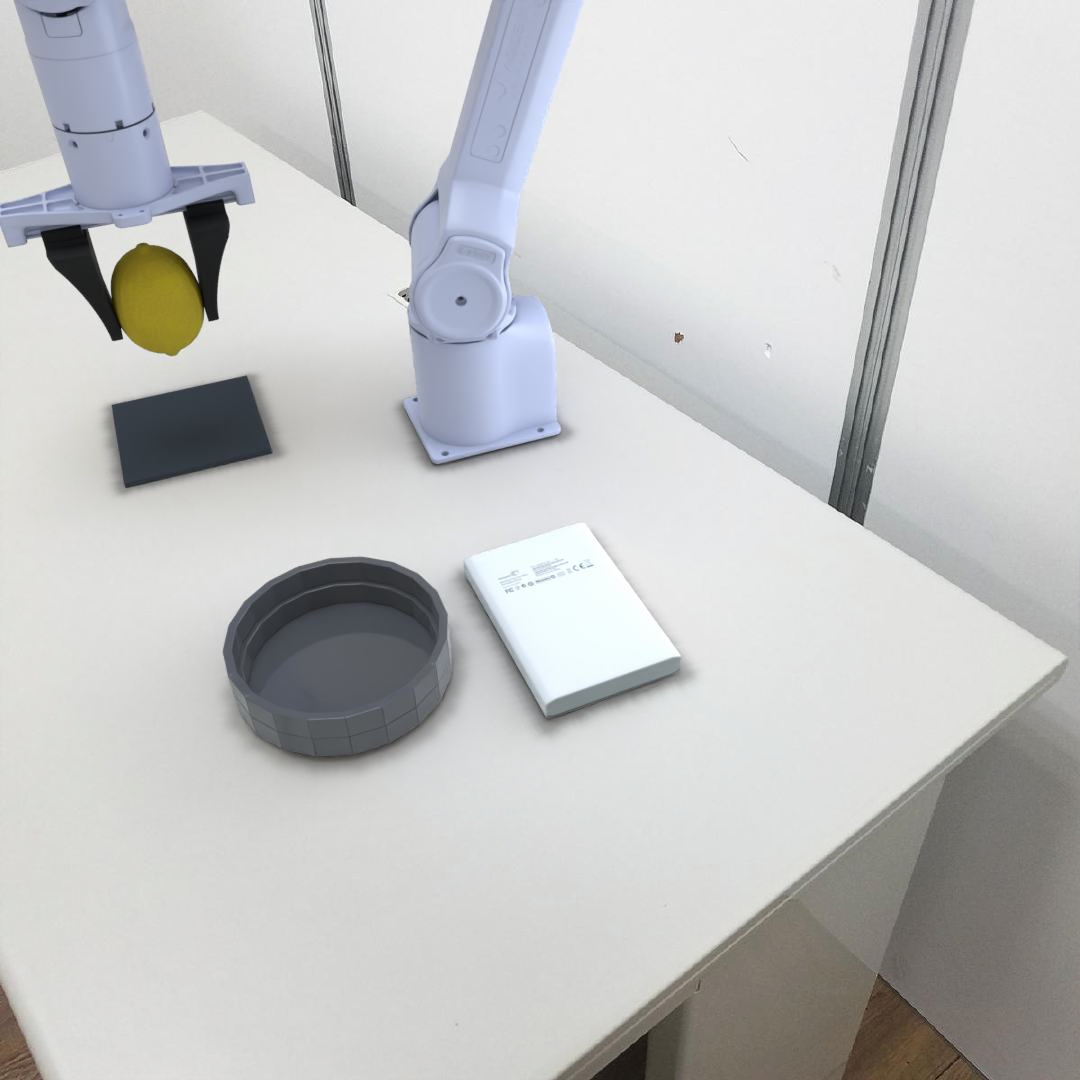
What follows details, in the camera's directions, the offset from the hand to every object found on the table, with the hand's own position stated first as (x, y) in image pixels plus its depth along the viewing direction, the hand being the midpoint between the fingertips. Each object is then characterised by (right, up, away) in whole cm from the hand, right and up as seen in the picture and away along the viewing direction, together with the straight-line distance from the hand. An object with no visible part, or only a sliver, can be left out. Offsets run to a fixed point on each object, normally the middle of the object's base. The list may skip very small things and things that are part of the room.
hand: (163, 323), depth 72 cm
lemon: (0, -2, +2) cm, 3 cm away
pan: (+14, -22, -10) cm, 27 cm away
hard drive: (+26, -19, -7) cm, 33 cm away
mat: (-1, -6, +8) cm, 10 cm away
